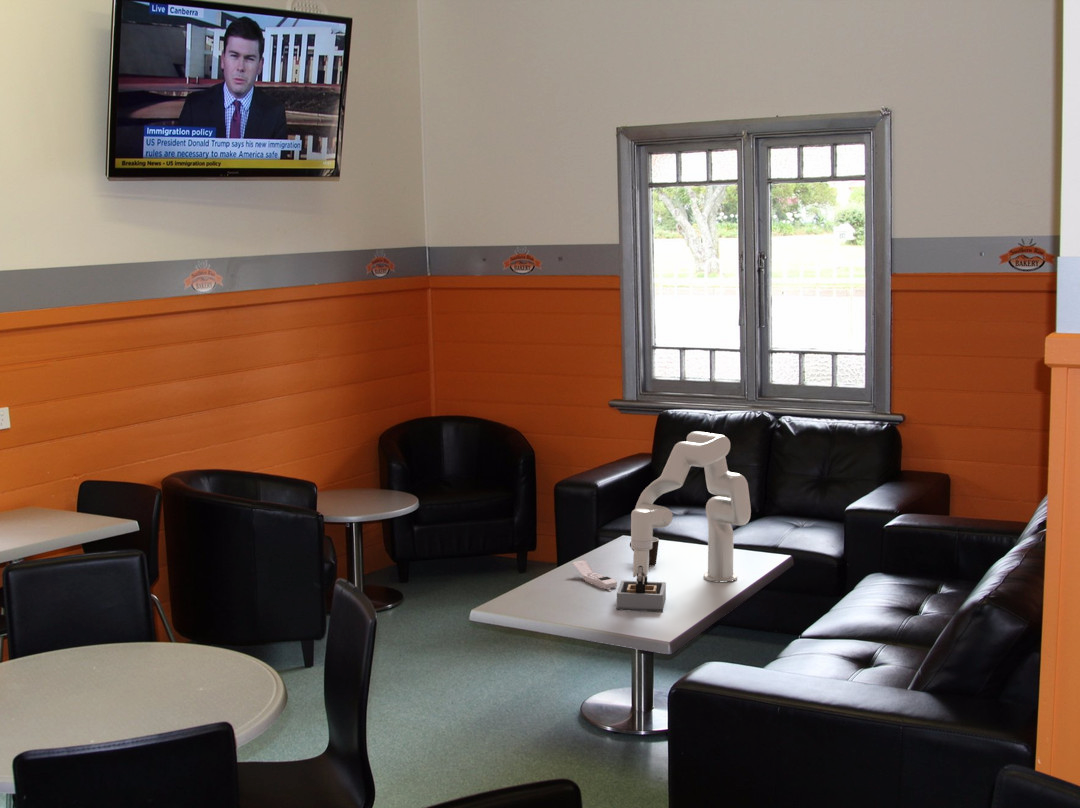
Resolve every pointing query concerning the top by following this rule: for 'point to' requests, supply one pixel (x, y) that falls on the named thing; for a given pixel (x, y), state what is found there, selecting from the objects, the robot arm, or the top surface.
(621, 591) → the grey open box
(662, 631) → the top surface
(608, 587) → the mobile phone
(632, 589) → the box
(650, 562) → the coffee mug
